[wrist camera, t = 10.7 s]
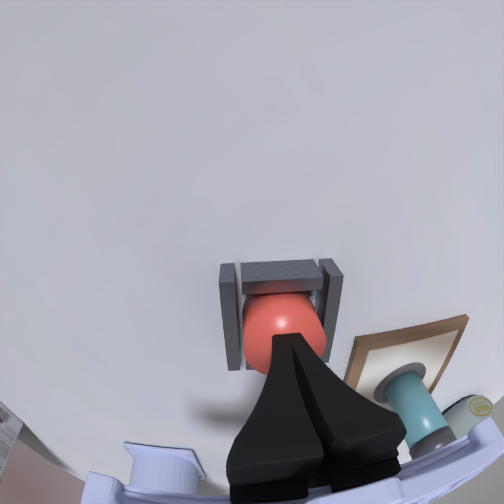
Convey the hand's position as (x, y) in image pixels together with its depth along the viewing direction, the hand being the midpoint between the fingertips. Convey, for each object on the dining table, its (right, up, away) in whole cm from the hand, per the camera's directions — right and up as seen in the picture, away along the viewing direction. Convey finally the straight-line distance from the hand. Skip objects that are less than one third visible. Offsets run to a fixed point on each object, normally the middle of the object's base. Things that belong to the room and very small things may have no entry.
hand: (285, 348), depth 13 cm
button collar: (0, +1, +3) cm, 3 cm away
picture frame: (+11, -8, +8) cm, 16 cm away
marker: (+11, -7, +7) cm, 14 cm away
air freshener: (+26, -17, +13) cm, 34 cm away
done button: (0, +1, +3) cm, 3 cm away
